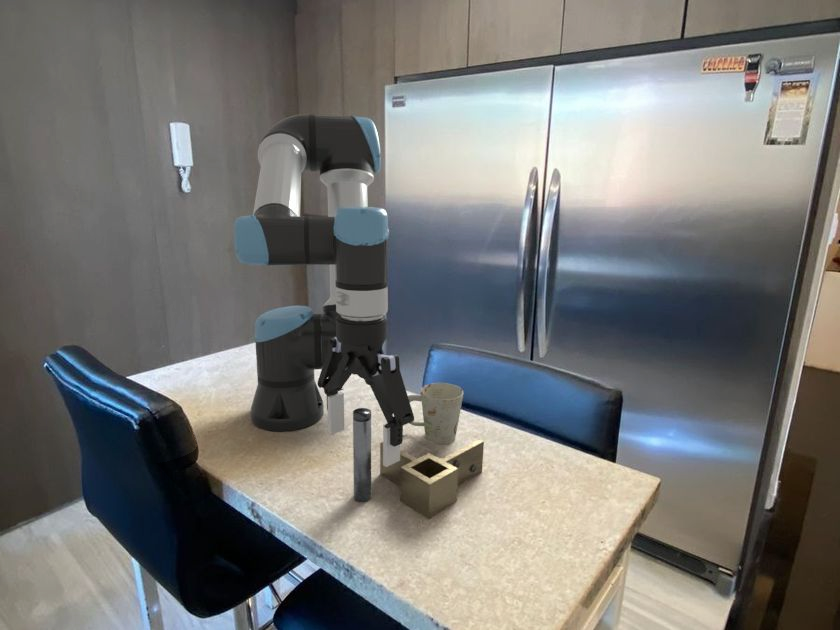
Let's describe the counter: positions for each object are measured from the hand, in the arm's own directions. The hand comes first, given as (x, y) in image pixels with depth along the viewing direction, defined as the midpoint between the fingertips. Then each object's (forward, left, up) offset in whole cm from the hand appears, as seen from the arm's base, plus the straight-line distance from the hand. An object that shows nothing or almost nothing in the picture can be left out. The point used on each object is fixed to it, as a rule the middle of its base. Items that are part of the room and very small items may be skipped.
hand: (362, 446), depth 81 cm
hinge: (+4, +12, -9) cm, 16 cm away
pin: (0, 0, -9) cm, 9 cm away
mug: (-7, +23, -9) cm, 26 cm away
